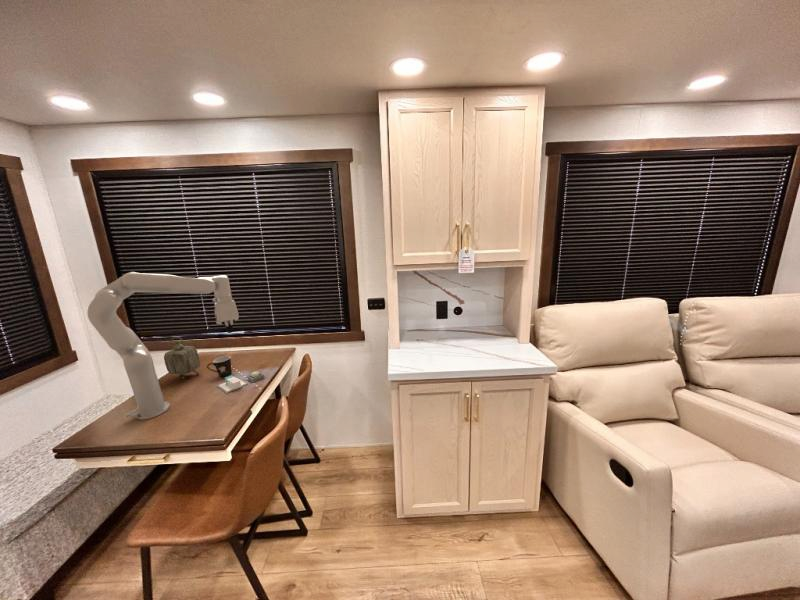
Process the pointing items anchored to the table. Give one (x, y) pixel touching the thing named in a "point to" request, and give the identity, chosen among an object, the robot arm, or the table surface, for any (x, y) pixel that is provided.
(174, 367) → the olive green backpack
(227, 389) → the cream flat slab
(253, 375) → the button
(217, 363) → the coffee mug
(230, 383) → the white and teal box
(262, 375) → the button housing
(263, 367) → the table surface
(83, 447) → the table surface
